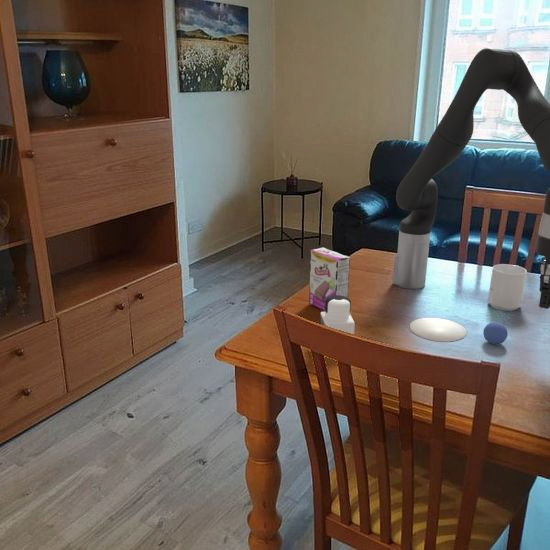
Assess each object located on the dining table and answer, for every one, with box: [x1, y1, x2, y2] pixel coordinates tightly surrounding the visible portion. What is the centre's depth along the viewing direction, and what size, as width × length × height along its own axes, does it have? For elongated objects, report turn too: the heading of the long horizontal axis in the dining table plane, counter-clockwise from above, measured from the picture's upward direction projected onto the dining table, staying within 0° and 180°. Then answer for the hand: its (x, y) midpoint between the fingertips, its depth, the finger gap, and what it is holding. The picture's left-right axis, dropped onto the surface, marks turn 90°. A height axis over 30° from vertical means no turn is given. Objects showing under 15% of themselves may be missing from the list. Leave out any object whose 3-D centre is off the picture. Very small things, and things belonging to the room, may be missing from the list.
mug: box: [487, 263, 528, 312], centre depth 159 cm, size 12×9×11 cm
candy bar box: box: [308, 246, 351, 312], centre depth 154 cm, size 11×5×16 cm, turn 37°
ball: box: [483, 321, 509, 346], centre depth 136 cm, size 6×6×6 cm
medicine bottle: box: [319, 295, 356, 335], centre depth 134 cm, size 7×7×12 cm
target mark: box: [409, 317, 467, 343], centre depth 144 cm, size 14×14×1 cm
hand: (544, 307), depth 128 cm, fingers closed
